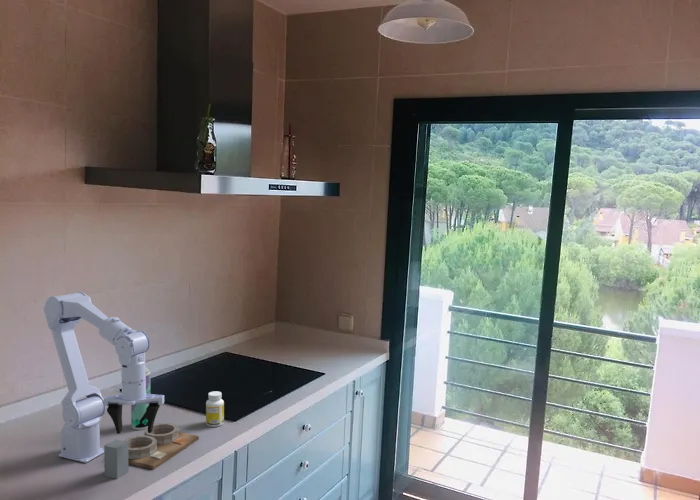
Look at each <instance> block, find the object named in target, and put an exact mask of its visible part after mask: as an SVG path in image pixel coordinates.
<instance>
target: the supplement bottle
mask: <svg viewBox="0 0 700 500" xmlns="http://www.w3.org/2000/svg"><path fill="white" fill-rule="evenodd" d="M222 395H223V394H222V392H221V391H217V390H216V391H214V390H213V391H210V392H208V398H207V400H206V402H205V424H206V425H207V427H212V428H217V427H220V426H223V424H224V423H225V401H224V400H223V399H222V397H223V396H222Z"/></svg>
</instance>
